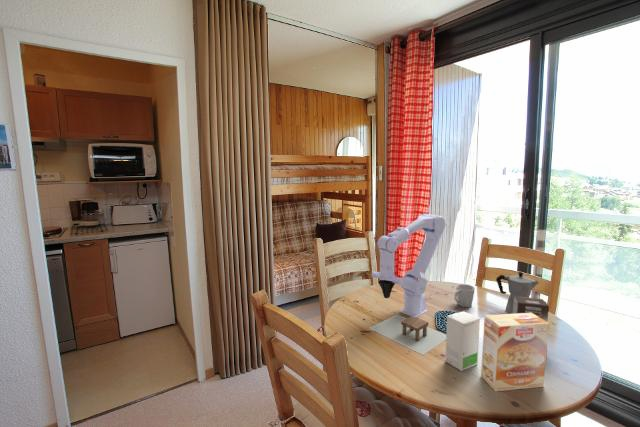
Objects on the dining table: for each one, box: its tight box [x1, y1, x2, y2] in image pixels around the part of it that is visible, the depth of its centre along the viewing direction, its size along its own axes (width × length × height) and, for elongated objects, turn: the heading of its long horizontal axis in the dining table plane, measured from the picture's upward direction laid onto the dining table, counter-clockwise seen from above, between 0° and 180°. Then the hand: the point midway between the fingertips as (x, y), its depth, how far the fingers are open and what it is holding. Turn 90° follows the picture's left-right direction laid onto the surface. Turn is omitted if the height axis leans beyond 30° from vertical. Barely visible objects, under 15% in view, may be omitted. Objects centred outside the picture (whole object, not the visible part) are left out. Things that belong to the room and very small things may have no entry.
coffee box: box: [513, 296, 550, 322], centre depth 110 cm, size 9×6×16 cm
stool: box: [401, 316, 429, 341], centre depth 117 cm, size 5×7×7 cm
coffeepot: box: [496, 271, 540, 314], centre depth 134 cm, size 15×9×18 cm, turn 59°
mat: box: [368, 314, 446, 356], centre depth 119 cm, size 18×24×1 cm
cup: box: [453, 283, 476, 308], centre depth 142 cm, size 8×10×8 cm
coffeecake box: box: [480, 312, 550, 392], centre depth 90 cm, size 15×7×20 cm, turn 96°
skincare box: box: [444, 310, 481, 372], centre depth 100 cm, size 8×7×16 cm
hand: (386, 297), depth 129 cm, fingers closed
